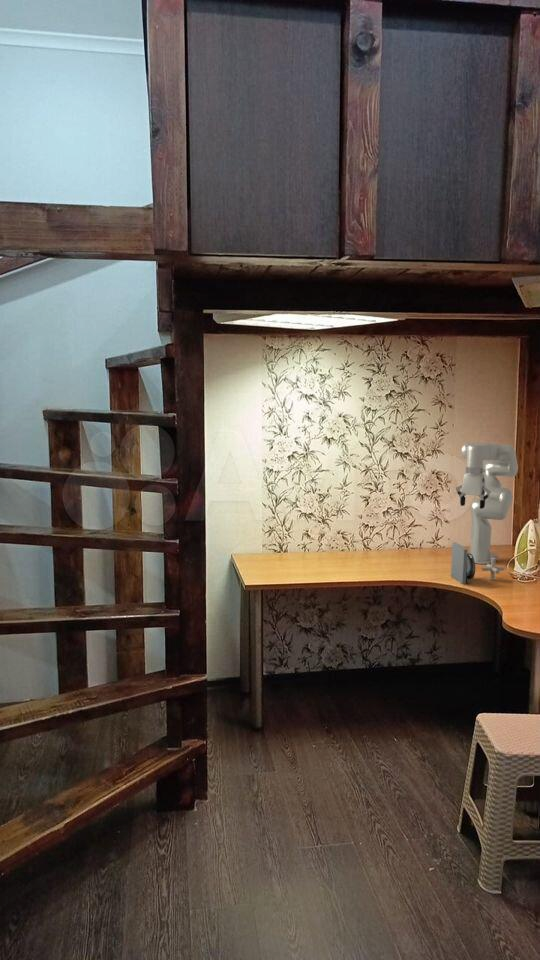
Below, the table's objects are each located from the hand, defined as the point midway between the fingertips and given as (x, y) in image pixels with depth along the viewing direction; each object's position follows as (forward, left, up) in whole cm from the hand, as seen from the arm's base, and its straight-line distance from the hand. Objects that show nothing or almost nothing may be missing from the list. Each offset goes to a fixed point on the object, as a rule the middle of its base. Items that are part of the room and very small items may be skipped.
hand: (472, 506), depth 310 cm
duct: (+9, +17, -30) cm, 35 cm away
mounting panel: (+10, +17, -31) cm, 36 cm away
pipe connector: (-4, +17, -31) cm, 35 cm away
